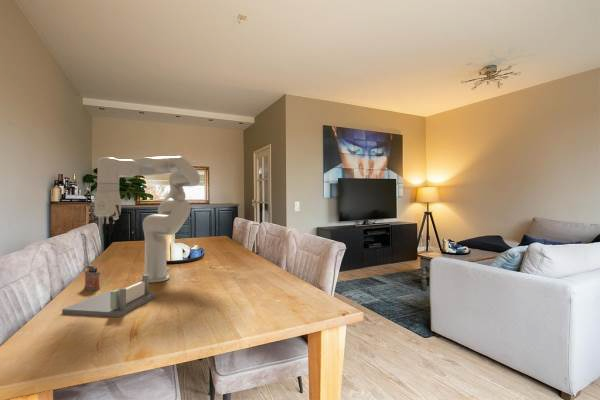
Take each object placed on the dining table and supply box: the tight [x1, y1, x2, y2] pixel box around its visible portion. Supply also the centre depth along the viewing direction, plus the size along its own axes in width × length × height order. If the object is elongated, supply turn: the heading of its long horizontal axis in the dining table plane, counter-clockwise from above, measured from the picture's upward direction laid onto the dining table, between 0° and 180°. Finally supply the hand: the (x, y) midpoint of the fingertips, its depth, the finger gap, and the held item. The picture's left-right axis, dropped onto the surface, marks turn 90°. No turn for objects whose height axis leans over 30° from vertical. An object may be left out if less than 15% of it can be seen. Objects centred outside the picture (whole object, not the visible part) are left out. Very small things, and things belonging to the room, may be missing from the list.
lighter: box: [84, 264, 101, 292], centre depth 131 cm, size 8×3×10 cm, turn 65°
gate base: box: [61, 274, 157, 318], centre depth 112 cm, size 21×21×9 cm
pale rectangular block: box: [110, 280, 145, 309], centre depth 110 cm, size 16×2×6 cm, turn 174°
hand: (108, 233), depth 123 cm, fingers closed
